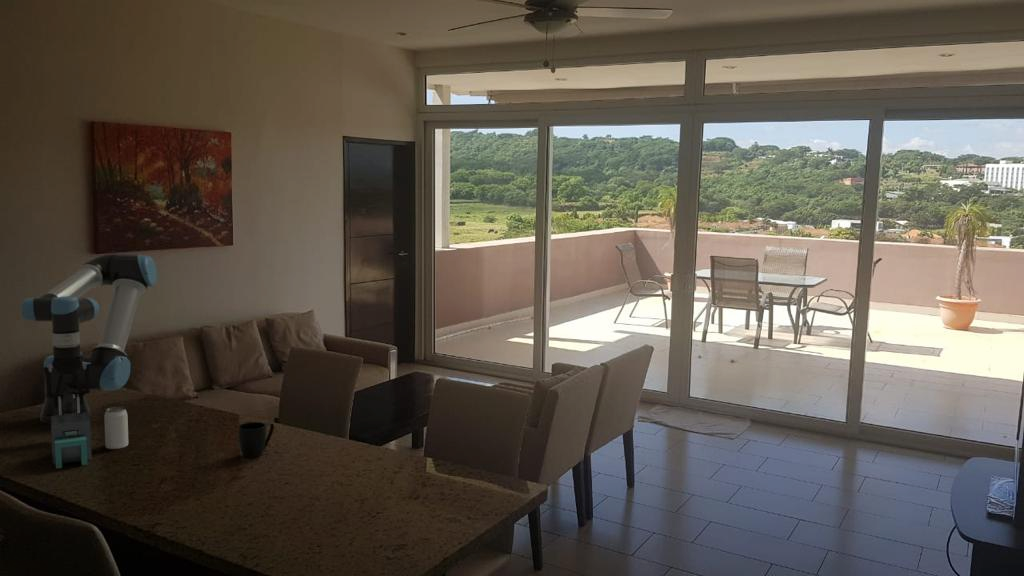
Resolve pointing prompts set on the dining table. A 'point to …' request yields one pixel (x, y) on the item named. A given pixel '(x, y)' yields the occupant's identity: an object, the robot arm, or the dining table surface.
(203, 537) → the dining table surface
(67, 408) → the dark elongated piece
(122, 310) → the robot arm
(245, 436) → the mug
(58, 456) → the block
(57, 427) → the housing
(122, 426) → the can
